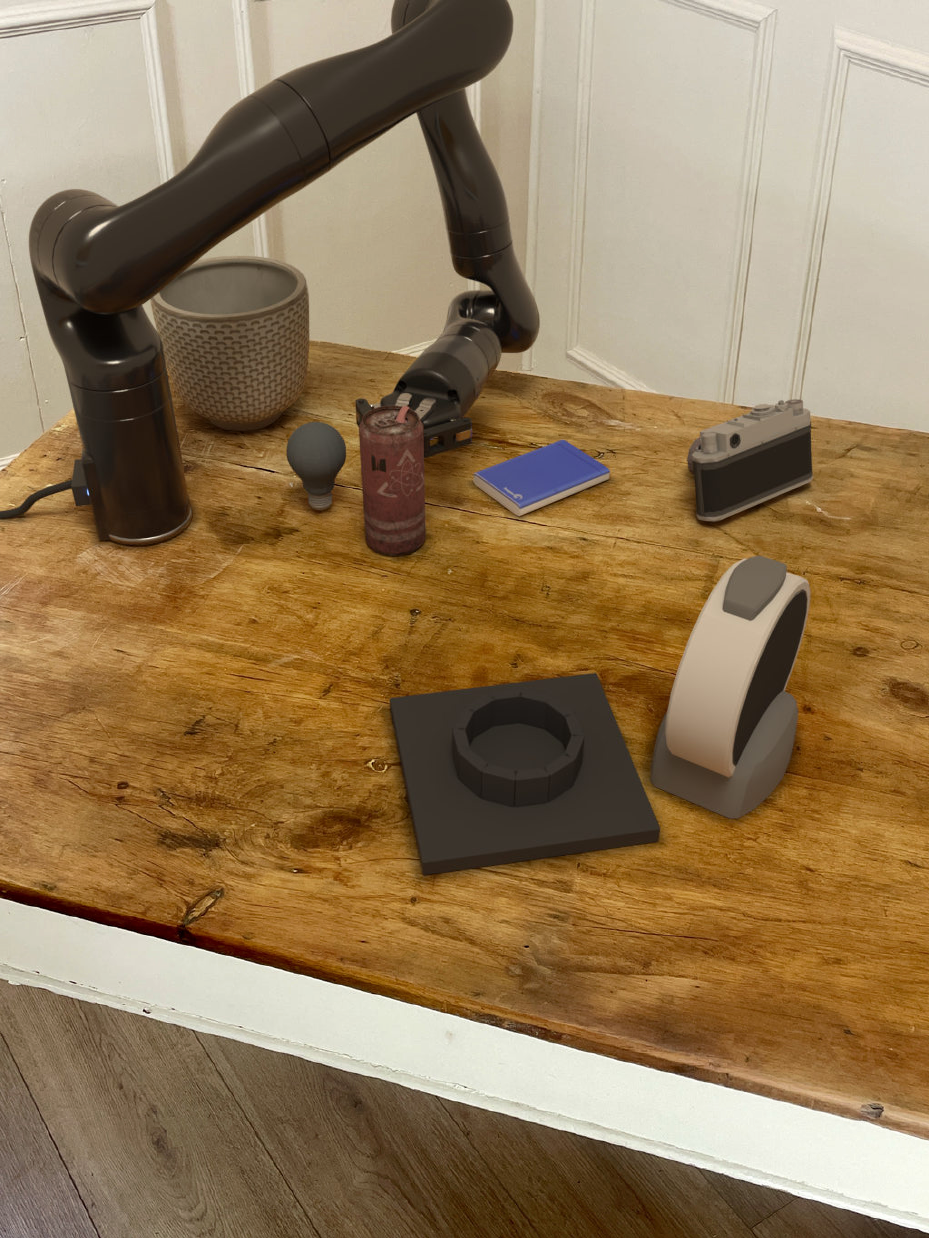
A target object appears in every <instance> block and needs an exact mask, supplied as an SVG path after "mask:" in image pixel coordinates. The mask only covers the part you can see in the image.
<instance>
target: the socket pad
mask: <svg viewBox="0 0 929 1238" xmlns="http://www.w3.org/2000/svg"><path fill="white" fill-rule="evenodd" d="M389 711H390V716H391V721H392V727H393V732H394V737H395V742H396V746H397V752H398V757H399V761H400V762H399V763H400V767H401V772H402V777H403V783H404V787H405V792H406V796H407V797H406V798H407V802H408V808H409V812H410V818H411V823H412V828H413V833H414V837H415V843H416V847H417V853H418V857H419V863H420V867H421V873H422V876H430V875H437V874H443V873H450V872H451V873H452V872H457V871H465V870H472V869H479V868H484V867H485V868H486V867H490V866H491V867H492V866H498V865H500V866H501V865H506V864H513V863H520V862H526V861H534V860H541V859H546V858H554V857H561V856H562V857H563V856H569V855H574V854H575V855H576V854H581V853H590V852H595V851H605V850H609V849H616V848H623V847H632V846H639V845H645V844H652V843H658V842H659V839H660V833H661V827H660V824H659V822H658V820H657V817H656V815H655V812H654V810H653V807H652V806H651V803H650V799H649V798H648V795H647V793H646V791H645V788H644V785H643V783H642V781H641V778H640V776H639V773H638V771H637V768H636V766H635V764H634V761H633V759H632V756H631V754H630V751H629V749H628V746H627V744H626V742H625V739H624V737H623V735H622V732H621V730H620V729H621V728H620V727H619V725H618V722H617V720H616V718H615V715H614V712H613V710H612V708H611V705H610V702H609V700H608V698H607V695H606V694H605V690H604V688H603V686H602V684H601V681H600V679H599V676H598V674H597V672H592V673H584V674H576V675H575V674H574V675H567V676H566V675H565V676H560V677H550V678H543V679H534V680H525V681H518V682H517V681H516V682H509V683H502V684H493V685H486V686H478V687H469V688H460V689H452V690H444V691H443V690H442V691H436V692H435V691H434V692H428V693H420V694H419V693H418V694H411V695H404V696H396V697H390V698H389Z"/></svg>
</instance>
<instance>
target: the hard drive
mask: <svg viewBox="0 0 929 1238" xmlns="http://www.w3.org/2000/svg"><path fill="white" fill-rule="evenodd" d="M610 473H611V470H610V469H609V468H608V467H607V465H606V466H605V465H604V464H603V463H601V462H599V461H598V460H597V459H595V458H593V457H592V456H590V455H589V454H588V453H586V452H584V451H583V450H581V449H580V448H578V447H576V446H575V445H573V444H571V443H570V442H569V441H567V440H565V439H559V440H557V441H554V442H553V443H550V444H548V445H545V446H542V447H540V448H537V449H534V450H531V451H529V452H527V453H524V454H521V455H518V456H515V457H513V458H510V459H507V460H505V461H502V462H500V463H497V464H494V465H491V466H489V467H486V468H484V469H481V470H478V471H476V472H473V475H472V476H473V479H472V481H473V484H474V485H475V487H477V488H478V489H480V490H481V491H483V492H484V493H485V494H486V495H488V496H489V497H491V498H493V500H494V501H496V502H497V503H499V504H500V505H502V506H503V507H504V508H505V509H507V510H508V511H510V512H511V513H512V514H513V515H515V516H517V517H521V516H524V515H526V514H528V513H531V512H534V511H536V510H539V509H541V508H543V507H545V506H548V505H550V504H553V503H555V502H557V501H560V500H563V499H564V498H567V497H569V496H571V495H574V494H577V493H580V492H581V491H584V490H586V489H588V488H591V487H593V486H596V485H598V484H601V483H603V482H606V481H608V480H610V475H611V474H610Z"/></svg>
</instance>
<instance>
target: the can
mask: <svg viewBox="0 0 929 1238" xmlns="http://www.w3.org/2000/svg"><path fill="white" fill-rule="evenodd" d="M358 439H359V441H358V442H359V456H360V457H359V458H360V473H361V475H360V476H361V490H362V491H361V493H362V506H363V508H362V510H363V521H364V539H365V541H366V543H367V545H368V547H370V548H371V549H372V550H373V551H374V552H376V553H378V554H379V555H383V556H388V557H401V556H406V555H407V556H408V555H410V554H412V553H414V552H416V551H417V550H418V549H420V548H421V546H422V545H423V543H424V542H425V540H426V536H427V535H426V534H427V533H426V532H427V531H426V526H427V525H426V488H425V487H426V483H425V482H426V481H425V458H424V432H423V424H422V422H421V420H420V417H419V416H418V414H417V413H416V412H415V411H413V410H412V409H410V408H409V407H407V406H403V407H402V406H382V407H377V408H374V409H372V410H370V411H368V412H367V413H366V414H365V415H364V416H363V418H362V421H361V423H360V425H359V427H358ZM372 455H374V457H375V460H376V468H377V463H378V466H379V462H380V459H386V472H382V471H380V470H379V471H378V470H376V471H372V458H371V456H372Z"/></svg>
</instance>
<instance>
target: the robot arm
mask: <svg viewBox="0 0 929 1238" xmlns="http://www.w3.org/2000/svg"><path fill="white" fill-rule="evenodd" d="M514 21H515V19H514V14H513V10H512V7H511V5H510V2H509V0H394V1H393V4H392V7H391V14H390V30H391V34H390V35H389V36H387V37H385V38H383V39H381V40H379V41H377V42H375V43H372V44H370V45H367V46H364V47H360V48H357V49H354V50H350V51H346V52H344V53H340V54H336V55H332V56H329V57H326V58H323V59H320V60H315V61H314V62H311V63H308V64H305V65H302V66H300V67H296V68H295V69H292V70H290V71H288V72H285V73H284V74H282V75H280V76H278V77H276V78H274V79H273V80H271V81H270V82H268V83H266V84H265V85H263V86H261V87H260V88H258V89H256V90H255V91H253V92H251V93H249V94H247V96H245V97H243V98H242V99H241V100H239V101H238V102H236V103H235V104H234V105H233V106H231V107H230V108H229V109H227V111H226V112H225V113H224V114H223V115H222V116H221V117H220V118H219V120H218V121H217V122H216V123H215V125H214V126H213V128H212V129H211V130H210V132H209V133H208V135H207V136H206V138H205V139H204V141H203V143H202V144H201V146H199V149H198V150H197V152H196V153H195V155H194V156H193V157H192V159H191V160H190V161H189V162H188V163H187V164H186V165H185V167H183V168H182V169H181V170H180V171H179V172H177V173H176V174H175V175H173V176H172V177H170V178H169V179H168V180H166V181H165V182H163V183H162V184H160V185H158V186H157V187H155V188H153V189H151V190H149V191H148V192H146V193H145V194H142V195H141V196H138V197H136V198H135V199H132V200H131V201H127V202H126V203H123V204H121V205H118V204H116V203H115V202H114V201H112V200H110V199H108V198H107V197H105V196H103V195H101V194H99V193H97V192H94V191H91V190H87V189H83V188H70V189H65V190H61V191H58V192H56V193H54V194H52V195H50V196H49V197H48V198H46V199H45V200H44V201H43V202H42V203H41V204H40V205H39V206H38V208H37V209H36V211H35V213H34V215H33V217H32V220H31V223H30V226H29V232H28V252H29V260H30V265H31V270H32V274H33V278H34V282H35V286H36V290H37V294H38V297H39V301H40V304H41V305H40V306H41V309H42V312H43V315H44V316H43V317H44V320H45V323H46V326H47V330H48V333H49V337H50V339H51V342H52V344H53V346H54V348H55V350H56V352H57V354H58V355H59V357H60V359H61V362H62V365H63V368H64V372H65V376H66V380H67V384H68V389H69V394H70V398H71V403H72V406H73V412H74V417H75V420H76V425H77V429H78V430H77V431H78V433H79V438H80V443H81V447H82V448H81V456H80V458H77V459H74V463H73V470H72V478H71V479H69V480H65V481H62V482H59V483H57V484H53V485H50V486H47V487H44V488H42V489H40V490H37V491H36V492H34V493H32V494H30V495H29V496H27V498H26V499H25V500H24V501H23V502H22V503H21V504H20V505H19V506H18V507H15V508H10V509H7V510H0V520H7V519H8V520H9V519H13V518H16V517H17V518H18V517H19V516H22V515H25V514H26V513H27V512H28V511H29V510H30V509H31V508H32V507H33V506H34V504H36V502H38V501H40V500H42V499H44V498H46V497H49V496H52V495H55V494H58V493H62V492H65V491H69V490H71V492H72V497H73V500H74V504H75V507H85V506H90V507H91V511H92V515H93V520H94V524H95V528H96V532H97V538H98V541H100V542H102V541H112V542H114V543H117V544H121V545H127V546H146V545H147V546H148V545H152V544H158V543H161V542H164V541H167V540H170V539H172V538H174V537H176V536H178V535H179V534H181V533H182V532H183V531H184V530H185V529H187V528H188V526H190V523H191V522H192V518H193V509H192V506H191V503H190V497H189V492H188V487H187V480H186V474H185V469H184V461H183V457H182V451H181V445H180V438H179V432H178V427H177V421H176V415H175V409H174V403H173V397H172V391H171V385H170V379H169V372H168V369H167V365H166V361H165V355H164V349H163V345H162V341H161V338H160V336H159V334H158V332H157V328H156V327H155V326H154V324H153V322H152V321H151V320H150V318H149V316H148V314H147V312H146V310H145V309H144V306H143V305H144V304H146V303H147V302H148V301H151V300H150V299H151V298H152V297H154V296H155V295H156V294H158V293H159V292H160V291H161V290H163V289H164V288H165V287H166V286H167V285H169V284H170V283H171V282H172V281H173V280H174V279H176V278H177V277H178V276H179V275H180V274H182V273H183V272H184V271H185V270H186V269H188V268H189V267H190V266H191V265H192V264H194V263H195V262H196V261H198V260H200V259H201V258H202V257H203V256H204V255H205V254H207V253H208V252H209V251H211V250H212V249H214V247H216V246H218V245H219V244H220V243H221V242H223V241H224V240H226V239H227V238H229V237H231V236H232V235H233V234H235V233H236V232H238V231H239V230H242V229H243V228H244V227H246V226H247V225H249V224H250V223H252V222H254V221H255V220H256V219H257V218H259V217H261V216H262V215H263V214H265V213H266V212H267V211H269V210H270V209H272V208H273V207H275V206H276V205H278V204H280V203H281V202H283V201H284V200H286V199H287V198H290V197H292V196H293V195H295V194H296V193H298V192H300V191H302V190H303V189H305V188H307V187H308V186H310V185H311V184H312V183H314V182H316V181H317V180H318V179H320V178H321V177H323V176H324V175H326V174H327V173H329V172H330V171H332V170H333V169H334V168H336V167H337V166H338V165H340V164H342V163H343V162H344V161H345V160H347V159H348V158H350V157H351V156H353V155H354V154H356V153H357V152H359V151H360V150H362V149H364V148H365V147H367V146H368V145H370V144H372V143H373V142H375V141H376V140H377V139H379V138H381V136H383V135H385V134H386V133H387V132H389V131H390V130H392V129H393V128H395V127H396V126H397V125H399V124H401V123H403V122H404V121H405V120H406V119H408V118H410V117H412V116H413V115H415V114H416V116H417V120H418V123H419V126H420V129H421V132H422V135H423V139H424V142H425V145H426V149H427V152H428V154H429V159H430V161H431V166H432V169H433V172H434V175H435V180H436V184H437V188H438V193H439V199H440V202H441V208H442V213H443V219H444V226H445V230H446V236H447V242H448V247H449V255H450V259H451V264H452V267H453V270H454V272H455V273H456V274H457V275H458V276H460V277H462V278H463V279H466V280H470V281H474V282H477V283H481V284H482V285H485V286H487V287H488V288H489V289H471V290H466V291H463V292H461V293H458V294H457V295H455V296H454V297H453V298H452V299H451V301H450V302H449V305H448V310H447V313H446V314H447V316H446V321H445V325H444V328H443V331H442V333H440V335H439V336H438V337H437V339H436V340H435V341H434V342H432V343H431V344H429V346H427V347H426V348H425V349H424V350H423V351H422V352H421V353H420V354H419V356H418V357H416V359H415V360H414V361H413V362H412V364H411V365H410V366H409V367H408V369H407V370H406V371H405V372H403V374H402V375H401V377H400V378H399V379H398V381H397V382H396V385H395V387H394V389H393V390H392V392H390V393H389V394H387V395H384V396H382V397H381V399H380V402H378V403H369V402H368V400H367V398H362V397H361V398H358V399H355V403H354V406H355V421H356V422H355V423H356V426H357V427H358V428H359V425H360V423H361V421H362V418H363V416H364V415H365V414H366V413H367V412H368V411H370V410H372V409H374V408H377V407H382V406H402V407H403V406H407V407H409V408H410V409H412V410H413V411H415V412H416V413H417V414H418V416H419V417H420V420H421V422H422V424H423V432H424V459H428V458H431V457H434V456H437V455H438V456H439V455H440V454H444V453H447V452H450V451H453V450H456V449H459V448H462V447H467V446H470V445H471V444H472V443H473V442H472V441H473V419H472V418H470V417H465V416H466V414H467V413H468V412H469V411H470V409H471V408H472V407H473V405H474V404H475V402H476V401H477V400H478V399H479V397H480V395H481V394H482V391H483V389H484V387H485V384H486V383H487V382H488V380H489V379H490V378H491V376H492V375H493V374H494V373H495V371H496V369H497V368H498V366H499V364H500V362H501V359H502V354H519V353H525V352H526V351H528V350H530V349H531V348H532V347H533V346H534V344H535V343H536V341H537V339H538V336H539V333H540V326H541V320H540V319H541V318H540V312H539V308H538V304H537V302H536V300H535V297H534V295H533V291H532V290H531V287H530V285H529V284H528V281H527V279H526V276H525V274H524V272H523V270H522V267H521V264H520V262H519V259H518V257H517V254H516V251H515V248H514V247H515V246H514V239H513V233H512V226H511V218H510V211H509V205H508V200H507V196H506V195H507V194H506V192H505V188H504V186H503V183H502V180H501V177H500V175H499V172H498V170H497V168H496V165H495V163H494V161H493V159H492V157H491V155H490V154H489V151H488V149H487V147H486V145H485V143H484V140H483V139H482V136H481V134H480V131H479V130H478V127H477V125H476V122H475V119H474V116H473V113H472V110H471V107H470V103H469V99H468V95H467V90H466V88H468V87H471V86H472V85H474V84H476V83H478V82H480V81H482V80H483V79H485V78H486V77H487V76H489V75H490V74H491V73H492V72H493V71H494V70H495V69H497V67H498V66H499V65H500V64H501V62H502V61H503V59H504V57H505V56H506V54H507V53H508V50H509V47H510V46H511V42H512V38H513V33H514ZM435 438H437V442H436V443H434V444H431V441H433V440H434V439H435ZM371 458H372V471H376V470H378V471H379V470H380V471H382V472H386V459H380V462H379V466H378V463H377V468H376V460H375V457H374V455H372V456H371Z"/></svg>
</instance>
